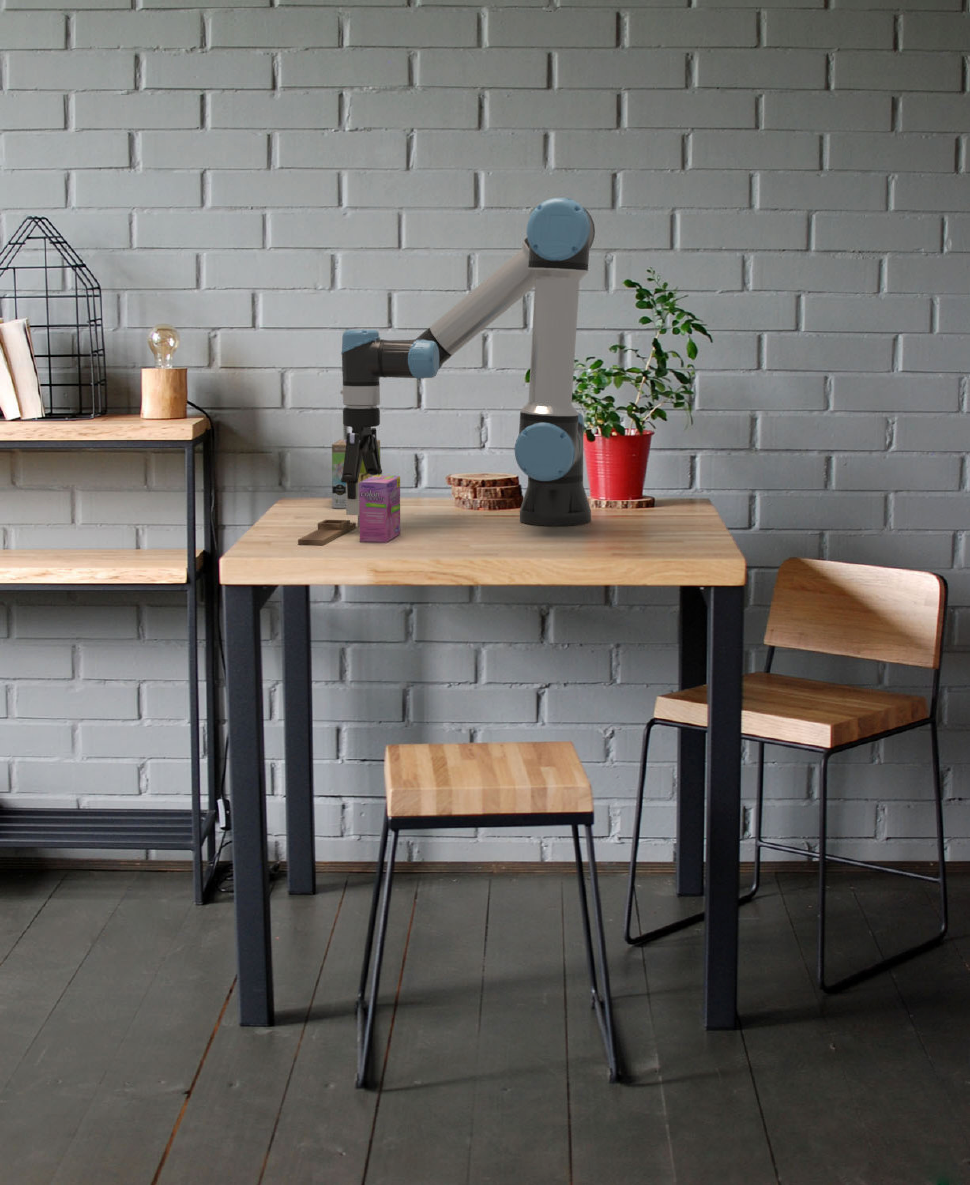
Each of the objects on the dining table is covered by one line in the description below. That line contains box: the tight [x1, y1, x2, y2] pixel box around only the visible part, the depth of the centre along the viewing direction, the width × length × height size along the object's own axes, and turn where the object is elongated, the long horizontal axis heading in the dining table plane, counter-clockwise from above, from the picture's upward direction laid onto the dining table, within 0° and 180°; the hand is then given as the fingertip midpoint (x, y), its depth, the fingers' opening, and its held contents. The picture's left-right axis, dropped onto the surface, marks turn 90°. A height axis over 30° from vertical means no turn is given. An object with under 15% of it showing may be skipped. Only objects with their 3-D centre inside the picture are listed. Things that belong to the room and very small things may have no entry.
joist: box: [297, 519, 357, 546], centre depth 264 cm, size 5×22×2 cm, turn 169°
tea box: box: [331, 438, 381, 509], centre depth 306 cm, size 15×10×15 cm
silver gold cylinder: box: [357, 473, 370, 528], centre depth 273 cm, size 3×3×11 cm
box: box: [358, 475, 401, 544], centre depth 260 cm, size 10×6×12 cm, turn 168°
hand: (362, 510), depth 274 cm, fingers open, 13 cm apart
